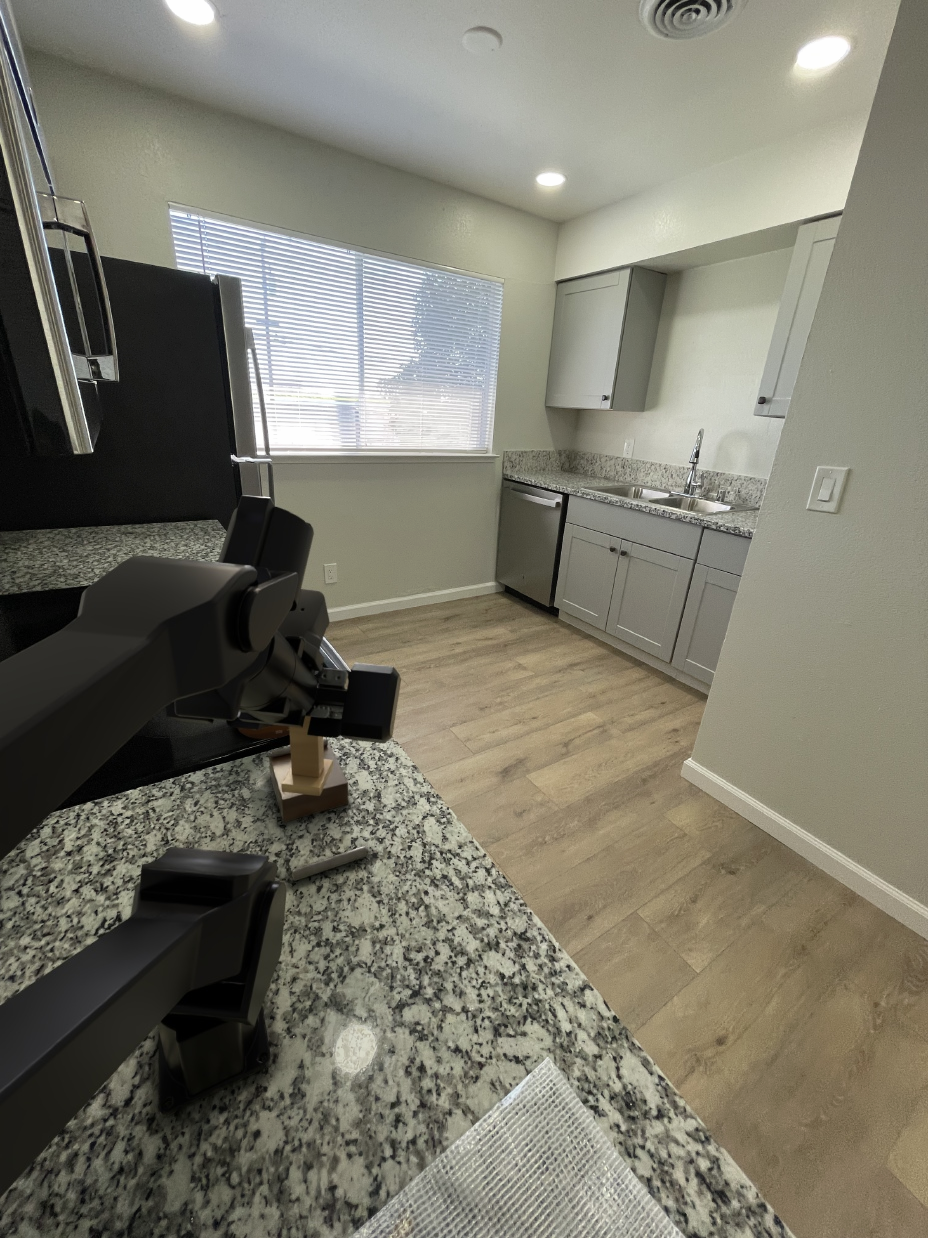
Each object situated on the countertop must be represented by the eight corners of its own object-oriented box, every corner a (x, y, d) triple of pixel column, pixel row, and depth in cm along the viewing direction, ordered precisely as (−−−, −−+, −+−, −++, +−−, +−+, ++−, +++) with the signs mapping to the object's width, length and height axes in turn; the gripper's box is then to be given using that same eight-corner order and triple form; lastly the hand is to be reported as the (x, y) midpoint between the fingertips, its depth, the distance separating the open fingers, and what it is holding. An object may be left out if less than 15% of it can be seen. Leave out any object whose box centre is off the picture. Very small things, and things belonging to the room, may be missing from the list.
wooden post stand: (319, 796, 50) (317, 709, 46) (281, 792, 50) (276, 704, 46) (333, 765, 54) (332, 683, 50) (298, 762, 54) (294, 680, 50)
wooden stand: (371, 857, 51) (372, 827, 49) (294, 883, 47) (292, 853, 46) (329, 762, 63) (328, 736, 62) (265, 777, 60) (263, 750, 58)
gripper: (401, 580, 39) (415, 648, 53) (163, 556, 39) (241, 630, 54) (377, 724, 35) (399, 756, 49) (110, 696, 35) (209, 736, 49)
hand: (311, 715), depth 50 cm, fingers closed on wooden post stand, 3 cm apart
